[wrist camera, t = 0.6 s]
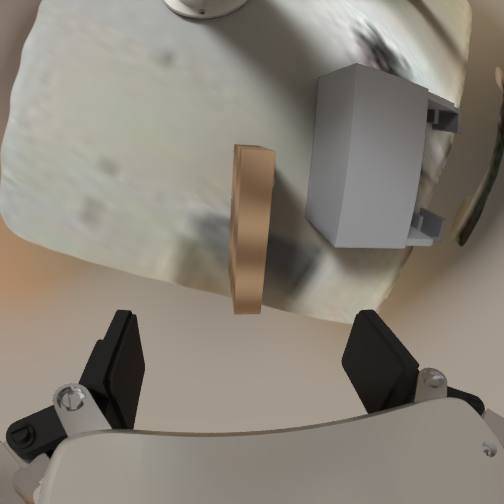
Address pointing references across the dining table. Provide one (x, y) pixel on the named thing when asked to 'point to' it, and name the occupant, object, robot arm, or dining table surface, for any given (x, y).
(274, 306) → the dining table surface
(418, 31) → the dining table surface
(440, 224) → the cabinet
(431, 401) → the robot arm
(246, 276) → the tan wooden plank
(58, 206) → the dining table surface
